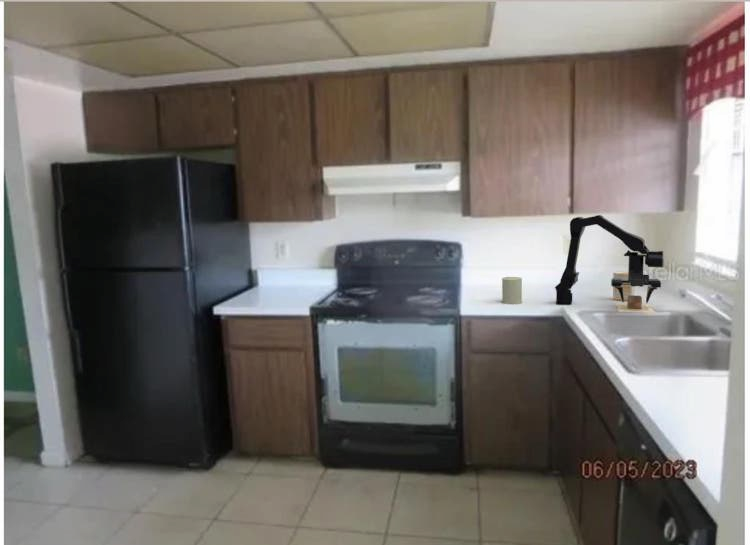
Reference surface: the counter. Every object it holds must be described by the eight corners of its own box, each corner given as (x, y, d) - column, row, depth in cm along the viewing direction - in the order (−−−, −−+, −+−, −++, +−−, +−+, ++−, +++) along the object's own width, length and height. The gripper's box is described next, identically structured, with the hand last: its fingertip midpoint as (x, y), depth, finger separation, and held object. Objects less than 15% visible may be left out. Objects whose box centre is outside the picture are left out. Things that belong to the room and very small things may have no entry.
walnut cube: (628, 309, 226) (628, 297, 226) (627, 306, 231) (627, 295, 230) (641, 309, 225) (641, 297, 224) (640, 307, 229) (640, 295, 229)
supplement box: (634, 300, 244) (635, 272, 243) (631, 302, 241) (632, 273, 239) (615, 298, 250) (616, 270, 248) (612, 300, 246) (613, 272, 244)
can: (508, 299, 257) (508, 275, 256) (525, 301, 251) (525, 276, 249) (498, 302, 251) (498, 277, 249) (515, 305, 244) (515, 279, 243)
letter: (618, 311, 223) (618, 311, 223) (615, 304, 238) (615, 303, 238) (655, 313, 218) (655, 312, 218) (650, 305, 233) (650, 304, 233)
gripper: (613, 269, 221) (612, 305, 223) (663, 269, 214) (662, 307, 217) (611, 265, 231) (610, 300, 234) (659, 265, 225) (658, 301, 227)
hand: (634, 302), depth 227 cm, fingers open, 9 cm apart
